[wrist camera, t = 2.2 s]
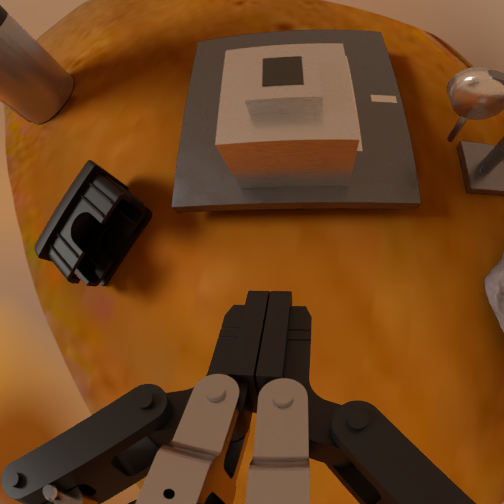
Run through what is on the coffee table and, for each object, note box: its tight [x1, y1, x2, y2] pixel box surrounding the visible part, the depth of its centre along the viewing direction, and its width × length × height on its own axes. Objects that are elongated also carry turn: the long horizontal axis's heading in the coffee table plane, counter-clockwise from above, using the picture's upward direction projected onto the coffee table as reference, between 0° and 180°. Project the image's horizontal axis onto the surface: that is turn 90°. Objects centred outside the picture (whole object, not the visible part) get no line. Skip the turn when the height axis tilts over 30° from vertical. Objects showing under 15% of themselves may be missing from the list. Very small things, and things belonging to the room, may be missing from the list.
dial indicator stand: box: [447, 67, 504, 196], centre depth 18 cm, size 11×5×14 cm, turn 88°
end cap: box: [35, 160, 152, 286], centre depth 28 cm, size 10×7×7 cm
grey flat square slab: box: [172, 30, 421, 213], centre depth 27 cm, size 20×20×2 cm
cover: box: [215, 43, 359, 188], centre depth 21 cm, size 8×8×9 cm
